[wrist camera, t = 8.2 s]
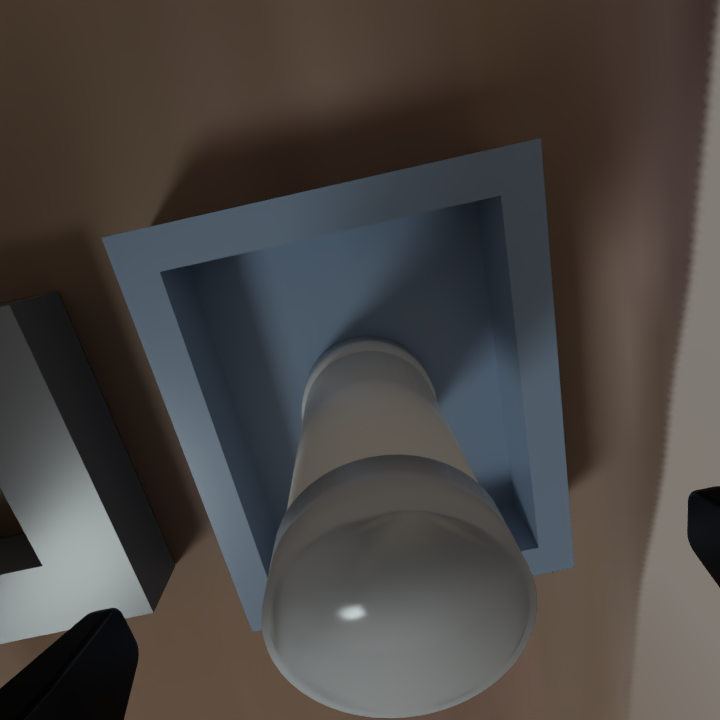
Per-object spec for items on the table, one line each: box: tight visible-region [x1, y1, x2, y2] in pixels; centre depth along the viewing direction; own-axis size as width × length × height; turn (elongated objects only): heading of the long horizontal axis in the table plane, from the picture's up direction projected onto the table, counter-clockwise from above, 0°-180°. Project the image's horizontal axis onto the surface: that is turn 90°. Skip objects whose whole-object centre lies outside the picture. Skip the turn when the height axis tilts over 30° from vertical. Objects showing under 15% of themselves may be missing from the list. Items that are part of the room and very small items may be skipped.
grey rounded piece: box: [261, 336, 537, 718], centre depth 10 cm, size 4×4×8 cm
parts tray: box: [102, 138, 574, 632], centre depth 13 cm, size 10×12×2 cm
